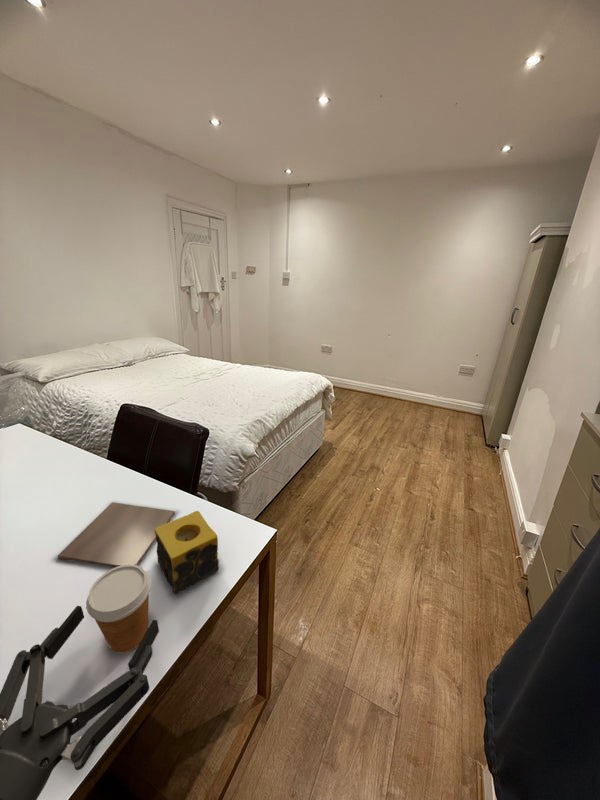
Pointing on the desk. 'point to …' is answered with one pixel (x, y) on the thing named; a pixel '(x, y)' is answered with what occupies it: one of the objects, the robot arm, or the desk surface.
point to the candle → (186, 551)
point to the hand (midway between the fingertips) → (118, 618)
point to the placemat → (117, 536)
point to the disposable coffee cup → (121, 606)
